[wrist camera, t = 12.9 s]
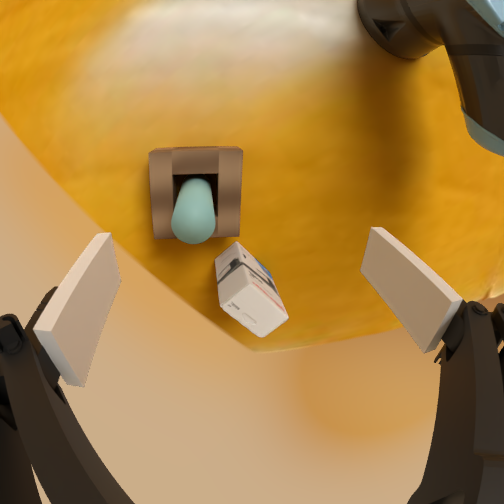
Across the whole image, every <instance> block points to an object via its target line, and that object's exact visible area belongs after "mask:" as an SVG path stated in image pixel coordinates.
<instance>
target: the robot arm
mask: <svg viewBox="0 0 504 504" xmlns="http://www.w3.org/2000/svg"><path fill="white" fill-rule="evenodd" d="M358 11H359V14H360V17H361V20H362V22H363V24H364V26H365V28H366V29H367V31H368V32H369V34H370V35H371V36H372V37H373V39H374V40H375V41H376V42H377V43H378V44H379V45H380V46H381V47H383V48H384V49H385V50H386V51H388V52H389V53H391V54H393V55H395V56H397V57H400V58H404V59H413V58H420V57H423V56H425V55H427V54H428V53H429V52H431V51H433V50H434V49H436V48H438V47H439V46H441V45H445V48H446V51H447V54H448V57H449V60H450V63H451V66H452V69H453V73H454V76H455V80H456V84H457V88H458V92H459V97H460V101H461V110H462V112H463V114H464V118H465V122H466V127H467V130H468V133H469V135H470V136H471V137H472V138H473V139H474V140H475V142H476V143H478V144H479V145H480V146H482V147H483V148H485V149H487V150H489V151H491V152H493V153H495V154H498V155H501V156H503V157H504V0H358ZM360 272H361V273H362V274H363V275H364V276H365V278H366V279H367V280H368V281H369V282H370V284H371V285H372V286H373V287H374V289H375V290H376V291H377V292H378V294H379V295H380V296H381V297H382V299H383V300H384V301H385V302H386V304H387V305H388V306H389V307H390V309H391V310H392V311H393V313H394V314H395V315H396V317H397V318H398V319H399V320H400V322H401V323H402V324H403V326H404V327H405V328H406V330H407V331H408V332H409V334H410V335H411V337H412V338H413V339H414V341H415V342H416V343H417V345H418V346H419V348H420V349H421V350H422V352H423V353H427V352H430V351H432V350H435V349H436V347H437V345H438V344H439V342H440V341H441V339H442V340H443V341H444V343H445V344H444V346H443V347H442V349H441V350H440V352H439V354H438V355H437V357H436V358H435V360H434V363H436V362H437V360H438V359H439V358H441V361H440V362H439V364H440V365H441V374H440V387H439V398H438V405H437V413H436V420H435V426H434V432H433V437H432V442H431V447H430V451H429V456H428V460H427V464H426V468H425V472H424V476H423V479H422V482H421V484H420V486H419V488H418V489H417V490H416V491H415V492H414V494H413V495H412V496H411V498H410V499H409V501H408V503H407V504H504V346H503V348H502V349H501V351H500V353H498V349H497V348H498V346H499V345H500V343H501V342H502V340H503V341H504V304H502V303H498V304H497V306H496V307H495V309H494V311H493V312H488V310H487V309H486V308H485V307H484V306H483V305H482V304H480V303H478V302H475V301H469V302H468V303H466V302H465V301H464V300H463V299H462V298H461V297H460V296H459V295H458V294H457V293H456V292H455V291H454V290H453V289H452V288H451V287H450V286H449V285H448V284H447V283H446V282H445V281H444V280H443V279H442V278H441V277H440V276H439V275H437V274H436V273H435V272H434V271H433V270H432V269H431V268H430V267H429V266H427V265H426V264H425V263H424V262H423V261H422V260H421V259H420V258H418V257H417V256H416V255H415V254H414V253H413V252H412V251H410V250H409V249H408V248H407V247H406V246H404V245H403V244H402V243H401V242H400V241H398V240H397V239H396V238H395V237H394V236H392V235H391V234H390V233H389V232H387V231H386V230H385V229H384V228H382V227H371V229H370V234H369V238H368V242H367V246H366V250H365V254H364V258H363V262H362V266H361V269H360ZM120 283H121V278H120V273H119V270H118V265H117V260H116V255H115V251H114V246H113V240H112V235H111V233H98V234H96V236H95V237H94V238H93V239H92V241H91V242H90V243H89V245H88V246H87V247H86V249H85V250H84V251H83V253H82V254H81V255H80V257H79V258H78V259H77V261H76V262H75V264H74V265H73V266H72V268H71V269H70V271H69V272H68V273H67V275H66V277H65V278H64V279H63V281H62V282H61V284H60V285H59V287H54V288H53V289H51V290H50V291H49V292H48V293H47V294H46V295H45V297H44V298H43V300H42V301H41V304H39V306H38V308H37V311H35V312H34V314H33V315H32V317H31V319H30V320H29V322H28V324H27V326H26V327H25V329H23V328H22V326H21V324H20V322H19V320H18V318H17V316H16V315H14V314H6V315H3V316H1V317H0V504H42V502H41V499H40V496H39V493H38V489H37V486H36V483H35V479H34V475H33V471H32V467H33V469H34V471H35V473H36V475H37V477H38V480H39V482H40V483H41V486H42V488H43V489H44V491H45V493H46V495H47V497H48V498H49V500H50V502H51V504H135V503H133V501H132V500H131V499H130V498H129V496H128V495H127V494H126V493H125V492H124V490H123V489H122V488H121V487H120V485H119V484H118V483H117V482H116V480H115V479H114V478H113V476H112V475H111V473H110V472H109V471H108V469H107V468H106V466H105V465H104V463H103V462H102V461H101V459H100V458H99V456H98V455H97V453H96V452H95V450H94V448H93V447H92V445H91V444H90V442H89V440H88V439H87V437H86V435H85V433H84V432H83V430H82V428H81V426H80V425H79V423H78V421H77V419H76V417H75V415H74V414H73V411H72V410H71V408H70V406H69V403H68V401H67V399H66V397H65V395H64V393H63V391H62V389H61V387H60V386H59V384H58V379H59V376H60V375H61V376H62V378H63V379H64V381H65V382H66V384H67V385H73V386H79V387H84V386H85V383H86V379H87V376H88V372H89V369H90V366H91V362H92V359H93V356H94V353H95V350H96V347H97V344H98V341H99V338H100V335H101V332H102V329H103V327H104V324H105V321H106V318H107V315H108V313H109V311H110V308H111V305H112V302H113V300H114V298H115V295H116V293H117V290H118V288H119V286H120ZM31 464H32V466H31Z"/></svg>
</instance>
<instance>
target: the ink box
mask: <svg viewBox="0 0 504 504" xmlns="http://www.w3.org/2000/svg"><path fill="white" fill-rule="evenodd" d="M215 267H216V277H217V286H218V295H219V303H220V307H222V308H223V310H224V311H225V312H227V313H228V314H229V315H230V316H231V317H233V318H234V319H236V320H237V321H239V322H240V323H241V324H242V325H243V326H245V327H246V328H248V329H249V330H250V331H251V332H253V333H254V334H256V335H257V336H258V337H265V336H266V335H268V334H269V333H271V332H272V331H273V330H275V329H276V328H277V327H279V326H280V325H281V324H283V323H284V322H286V321H287V320H288V319H289V317H288V315H287V312H286V310H285V308H284V305H283V303H282V300H281V298H280V296H279V293H278V291H277V289H276V286H275V284H274V281H273V279H272V276H271V274H270V272H269V271H268V270H267V269H266V268H265V267H263V265H261V264H260V263H259V262H258V261H257V260H256V259H255V258H254V257H253V256H252V255H251V254H250V253H249V252H248V251H247V250H246V249H245V248H244V247H243V246H242V245H240V244H239V243H238V242H237V241H236V242H235V243H233V244H232V245H231V246H230V247H229V248H227V249H226V250H225V251H224V252H223V253H221V254H220V255H219V256H218V257H217V258H216V259H215Z"/></svg>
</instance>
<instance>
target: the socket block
mask: <svg viewBox="0 0 504 504" xmlns="http://www.w3.org/2000/svg"><path fill="white" fill-rule="evenodd" d="M242 160H243V150H241V149H240V148H239V147H225V146H210V147H173V148H156V149H154V150H153V151H151V152H150V153H149V176H150V194H151V208H152V220H153V231H154V239H173V238H177V237H176V236H175V234H174V233H173V230H172V227H171V220H172V216H173V212H174V209H175V205H176V202H177V186H176V174H206V173H217V174H216V205H213V207H214V215H215V229H214V232H213V234H212V235H211V236H210V237H239V231H240V205H241V182H242Z"/></svg>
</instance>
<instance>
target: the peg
mask: <svg viewBox="0 0 504 504" xmlns="http://www.w3.org/2000/svg"><path fill="white" fill-rule="evenodd" d="M171 227H172V230H173V233H174V234H175V236H176V237H177V238H178V239H179V240H181V241H183V242H185V243H188V244H198V243H202V242H204V241H206V240H207V239H208V238H209V237H210V236H211V235H212V234H213V232H214V229H215V215H214V207H213V199H212V191H211V183H210V180H209V178H208V177H207V176H206V175H205V174H188V175H187V176H186V177H185V178H184V180H183V182H182V185H181V189H180V192H179V195H178V199H177V202H176V205H175V209H174V212H173V216H172V220H171Z"/></svg>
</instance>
